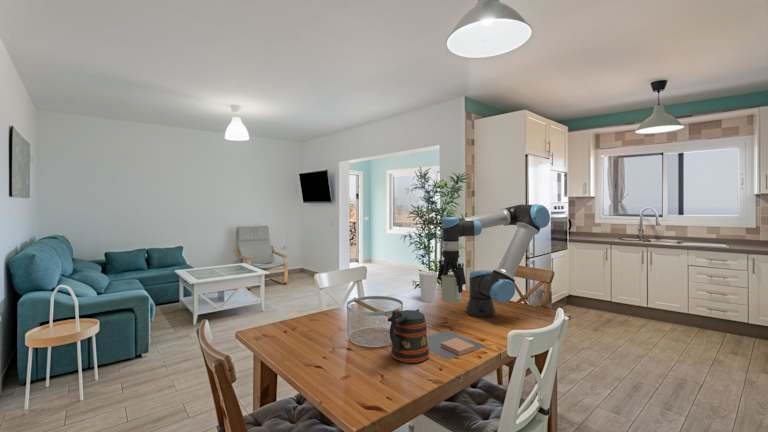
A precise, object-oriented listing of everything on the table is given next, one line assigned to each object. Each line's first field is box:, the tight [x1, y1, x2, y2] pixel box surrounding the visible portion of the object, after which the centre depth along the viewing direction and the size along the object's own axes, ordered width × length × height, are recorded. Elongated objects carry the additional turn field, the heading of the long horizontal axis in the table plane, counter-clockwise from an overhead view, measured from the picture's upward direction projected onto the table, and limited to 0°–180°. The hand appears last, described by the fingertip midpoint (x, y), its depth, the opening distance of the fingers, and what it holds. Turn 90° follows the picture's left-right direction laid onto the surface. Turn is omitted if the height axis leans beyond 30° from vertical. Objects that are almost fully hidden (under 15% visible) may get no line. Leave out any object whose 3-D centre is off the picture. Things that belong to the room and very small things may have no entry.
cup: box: [418, 270, 438, 303], centre depth 218 cm, size 11×10×17 cm
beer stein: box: [387, 308, 430, 364], centre depth 138 cm, size 19×15×20 cm
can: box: [441, 273, 462, 304], centre depth 171 cm, size 9×9×12 cm
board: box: [427, 330, 487, 361], centre depth 149 cm, size 22×22×1 cm
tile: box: [441, 338, 476, 357], centre depth 144 cm, size 2×10×9 cm
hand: (451, 296), depth 171 cm, fingers closed on can, 9 cm apart
